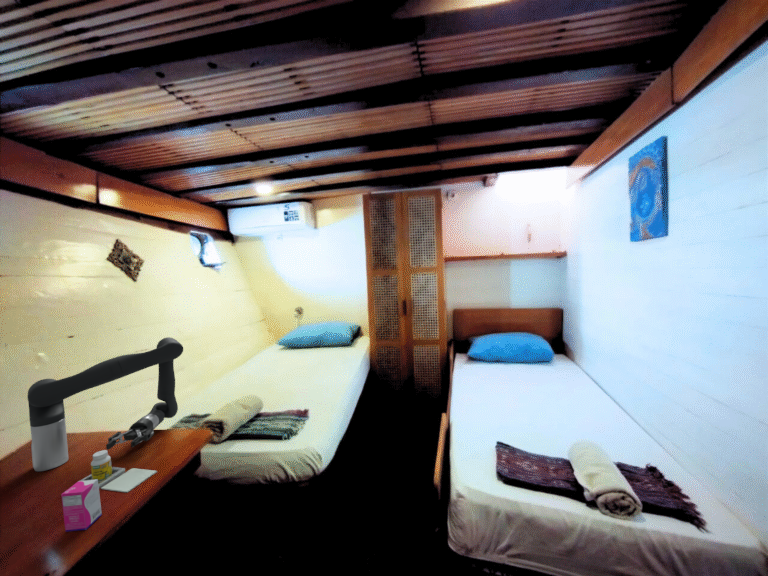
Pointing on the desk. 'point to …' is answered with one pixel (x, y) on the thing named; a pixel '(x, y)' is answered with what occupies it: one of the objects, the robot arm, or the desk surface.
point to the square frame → (115, 470)
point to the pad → (129, 480)
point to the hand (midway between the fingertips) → (119, 446)
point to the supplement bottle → (101, 465)
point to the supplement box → (81, 505)
